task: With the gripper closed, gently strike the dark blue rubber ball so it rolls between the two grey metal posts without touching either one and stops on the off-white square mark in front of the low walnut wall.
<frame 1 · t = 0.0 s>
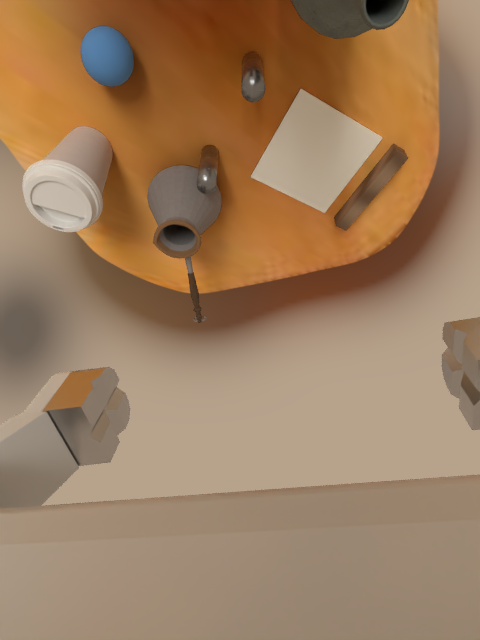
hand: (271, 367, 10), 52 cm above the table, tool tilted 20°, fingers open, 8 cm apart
coffee cup: (90, 148, 59), on the table
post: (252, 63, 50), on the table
ball: (107, 57, 47), on the table
coffee pot: (193, 216, 68), on the table
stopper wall: (366, 185, 63), on the table
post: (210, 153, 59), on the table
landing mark: (313, 157, 60), on the table
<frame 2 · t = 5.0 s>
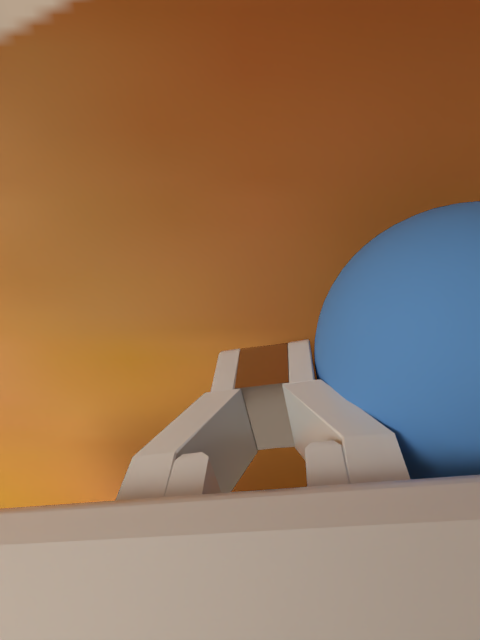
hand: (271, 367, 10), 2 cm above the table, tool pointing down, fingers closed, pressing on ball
ball: (464, 354, 8), on the table, touching gripper
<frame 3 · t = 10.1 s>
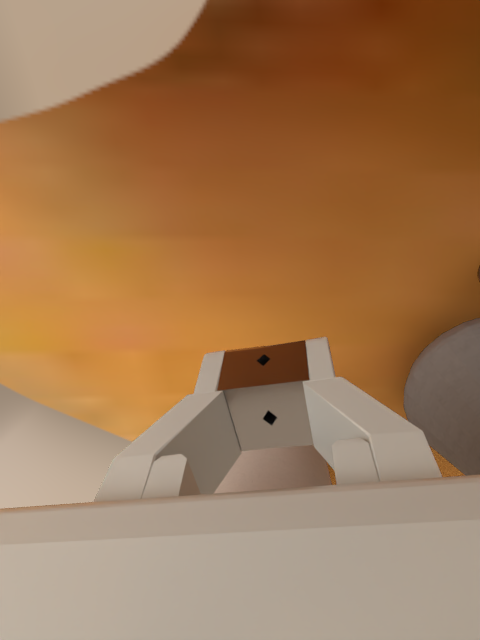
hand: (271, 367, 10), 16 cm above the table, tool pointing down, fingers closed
coffee cup: (266, 390, 31), on the table
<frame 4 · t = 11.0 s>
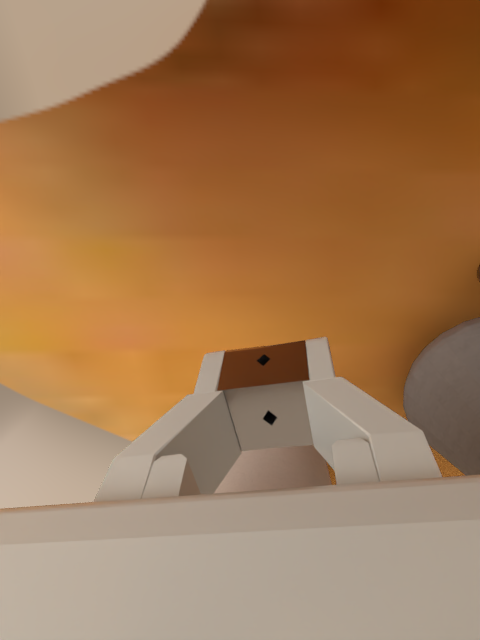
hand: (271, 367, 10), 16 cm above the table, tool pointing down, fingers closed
coffee cup: (266, 389, 31), on the table
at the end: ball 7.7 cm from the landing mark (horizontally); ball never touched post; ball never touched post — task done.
